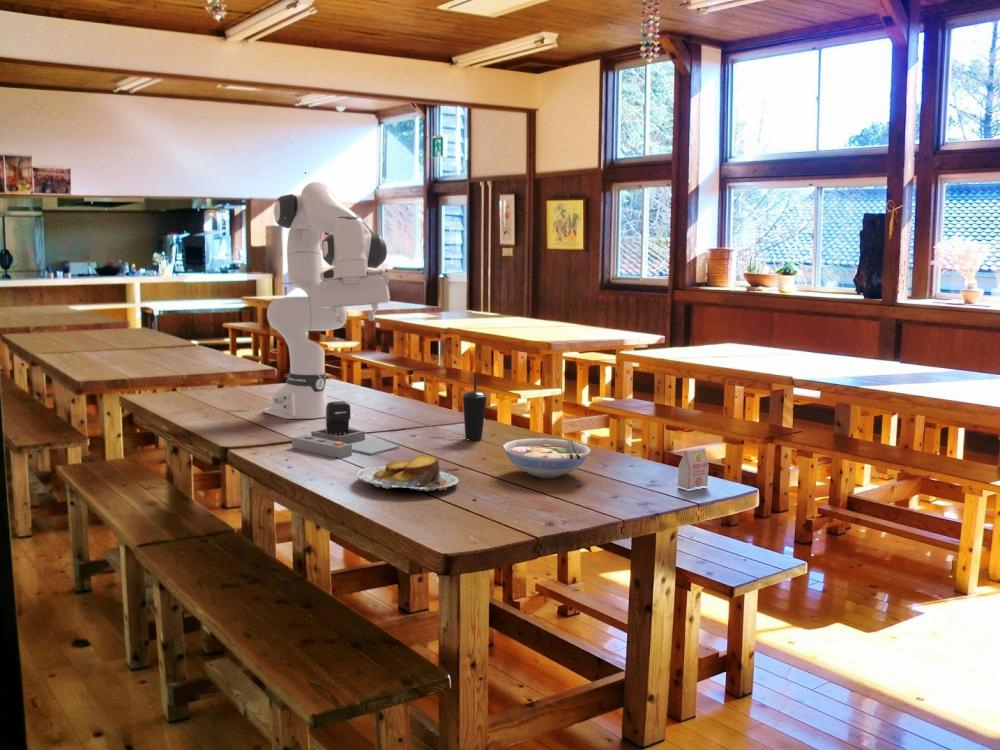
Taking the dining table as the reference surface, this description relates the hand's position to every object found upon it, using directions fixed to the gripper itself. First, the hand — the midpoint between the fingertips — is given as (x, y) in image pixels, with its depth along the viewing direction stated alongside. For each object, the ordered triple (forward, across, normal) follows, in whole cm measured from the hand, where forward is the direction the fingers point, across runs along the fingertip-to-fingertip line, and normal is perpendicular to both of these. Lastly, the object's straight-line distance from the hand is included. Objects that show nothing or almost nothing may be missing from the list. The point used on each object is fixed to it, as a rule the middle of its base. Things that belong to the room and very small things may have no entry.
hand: (355, 321), depth 271 cm
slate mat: (+36, 0, -6) cm, 36 cm away
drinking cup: (+36, -28, -26) cm, 52 cm away
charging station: (+34, +9, -7) cm, 36 cm away
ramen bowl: (+46, -51, +11) cm, 69 cm away
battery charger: (+33, +11, -14) cm, 38 cm away
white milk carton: (+51, -88, +15) cm, 103 cm away
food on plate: (+45, -18, +29) cm, 56 cm away
